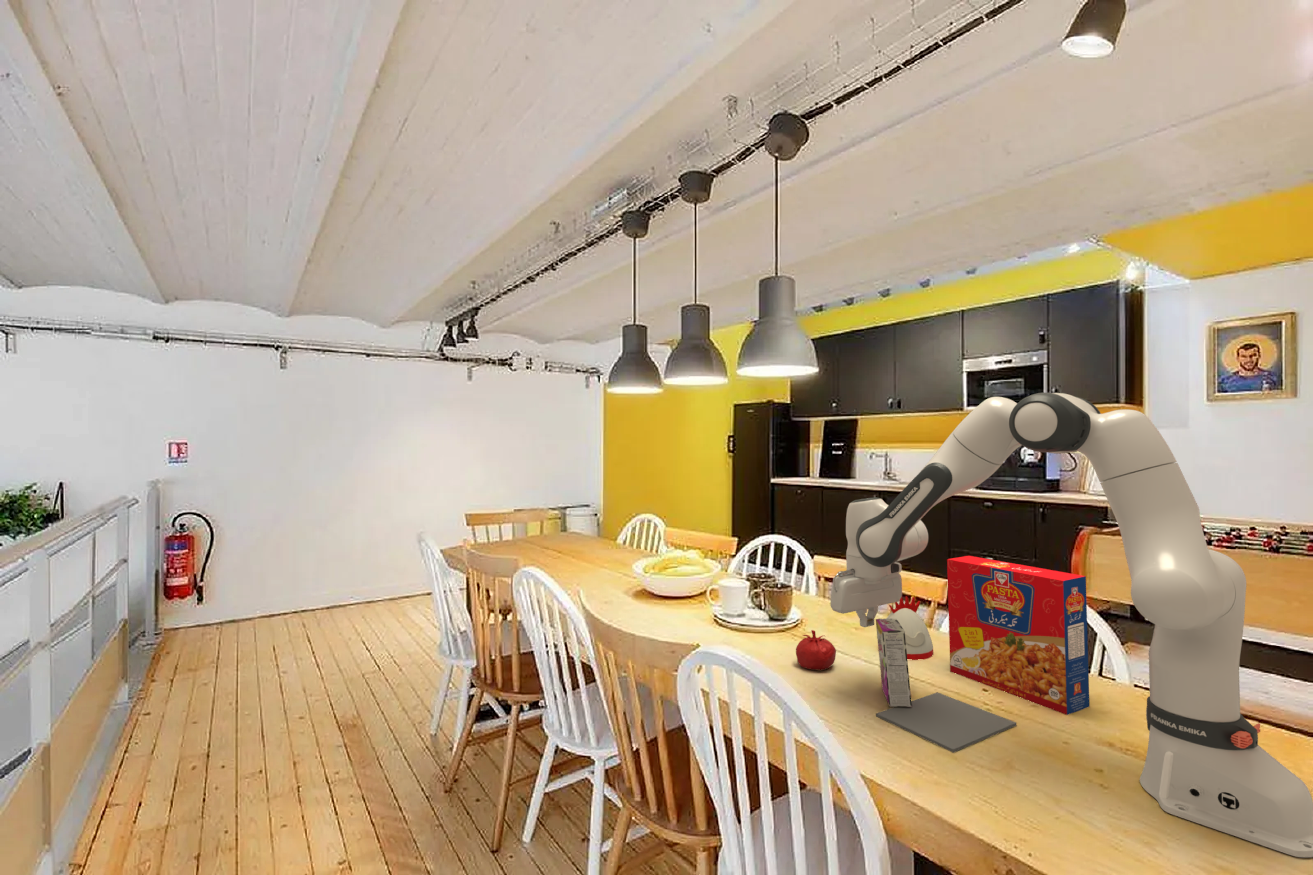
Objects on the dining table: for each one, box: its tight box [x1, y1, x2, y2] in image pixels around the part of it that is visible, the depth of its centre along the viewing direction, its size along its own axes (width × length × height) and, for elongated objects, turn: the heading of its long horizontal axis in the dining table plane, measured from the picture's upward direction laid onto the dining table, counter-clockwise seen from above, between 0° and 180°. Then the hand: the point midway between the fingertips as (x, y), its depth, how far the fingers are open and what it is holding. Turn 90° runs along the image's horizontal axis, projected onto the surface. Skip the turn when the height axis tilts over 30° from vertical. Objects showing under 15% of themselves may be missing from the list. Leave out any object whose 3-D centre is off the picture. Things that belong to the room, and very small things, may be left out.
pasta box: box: [946, 555, 1090, 716], centre depth 144 cm, size 28×8×28 cm, turn 26°
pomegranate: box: [795, 629, 837, 671], centre depth 160 cm, size 10×10×9 cm
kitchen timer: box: [885, 595, 934, 661], centre depth 170 cm, size 14×14×15 cm
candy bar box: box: [875, 618, 912, 708], centre depth 139 cm, size 11×5×16 cm, turn 168°
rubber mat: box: [875, 691, 1017, 754], centre depth 128 cm, size 18×20×1 cm
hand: (867, 625), depth 145 cm, fingers closed
